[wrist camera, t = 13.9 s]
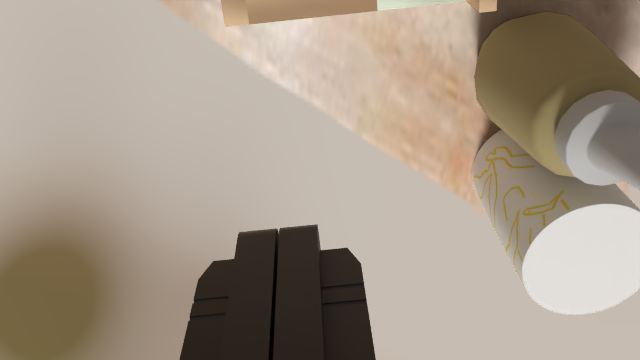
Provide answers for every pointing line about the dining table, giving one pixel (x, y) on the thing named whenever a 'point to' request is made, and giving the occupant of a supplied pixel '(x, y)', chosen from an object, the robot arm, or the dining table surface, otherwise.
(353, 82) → the dining table surface
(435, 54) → the dining table surface
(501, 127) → the squeeze bottle
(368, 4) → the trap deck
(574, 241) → the white cylinder
